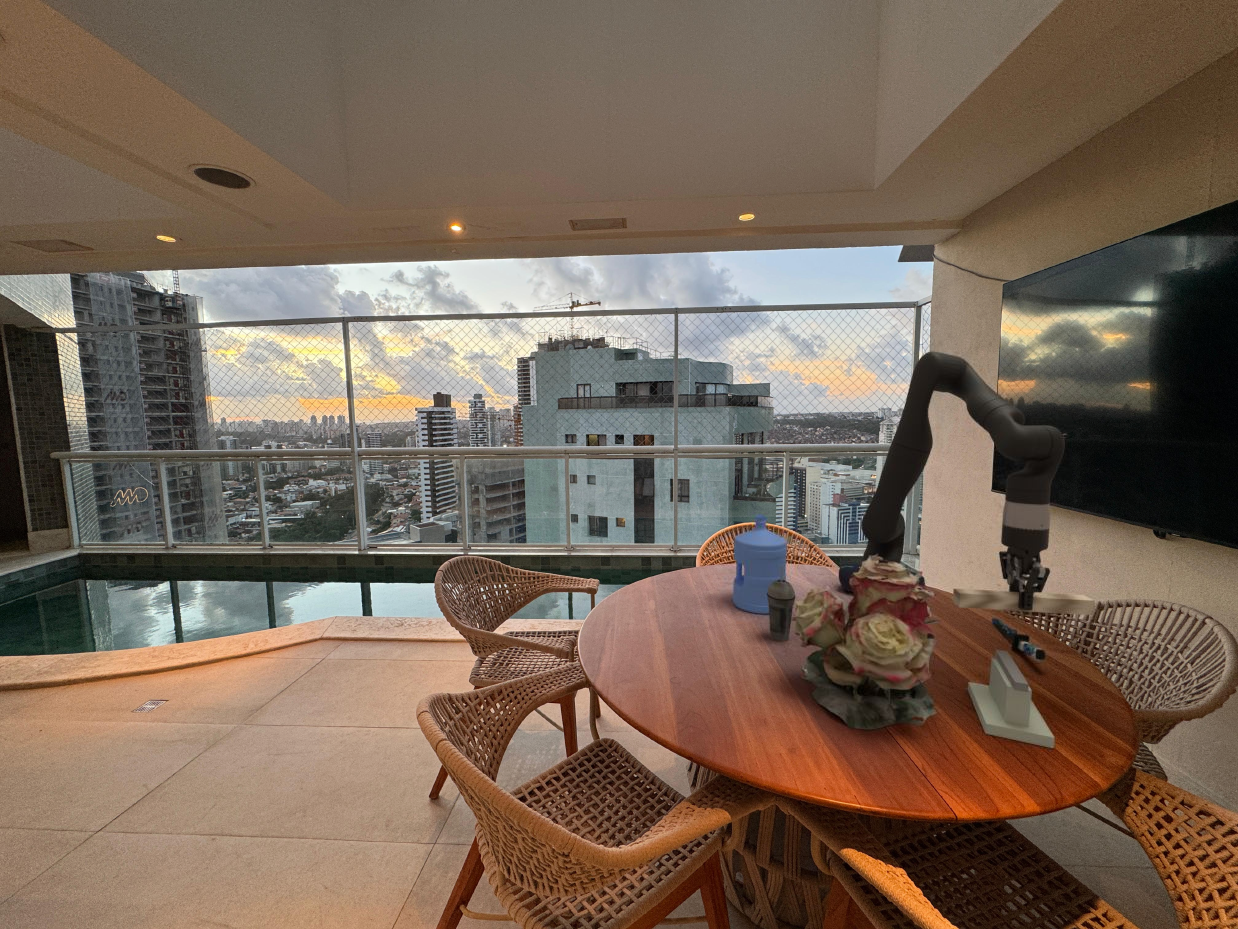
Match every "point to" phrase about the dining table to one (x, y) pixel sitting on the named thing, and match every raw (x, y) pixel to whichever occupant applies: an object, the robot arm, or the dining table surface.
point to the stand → (1009, 704)
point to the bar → (1011, 599)
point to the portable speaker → (854, 567)
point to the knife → (1019, 641)
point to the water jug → (757, 566)
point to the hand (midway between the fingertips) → (1019, 606)
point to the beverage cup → (780, 608)
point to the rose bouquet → (870, 646)
